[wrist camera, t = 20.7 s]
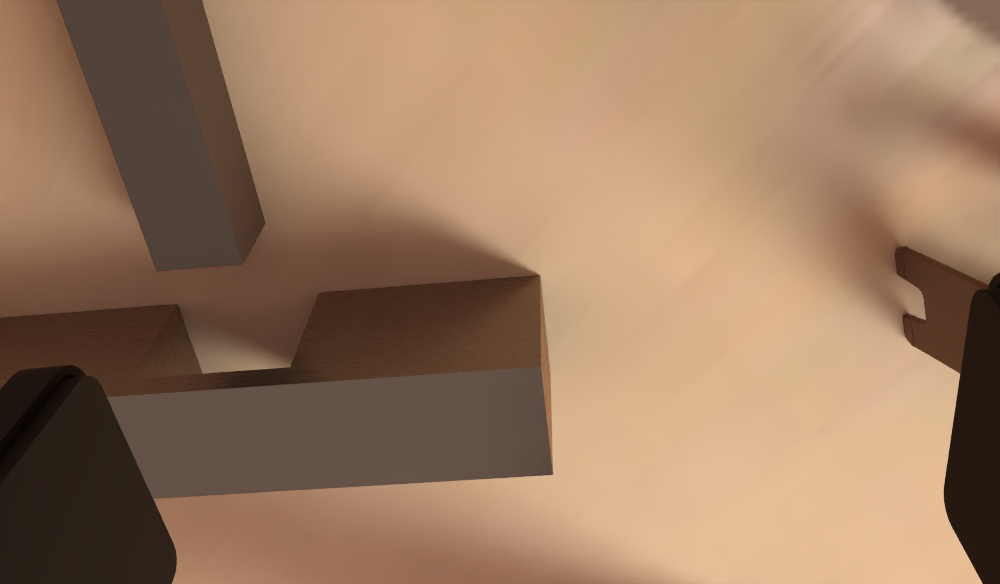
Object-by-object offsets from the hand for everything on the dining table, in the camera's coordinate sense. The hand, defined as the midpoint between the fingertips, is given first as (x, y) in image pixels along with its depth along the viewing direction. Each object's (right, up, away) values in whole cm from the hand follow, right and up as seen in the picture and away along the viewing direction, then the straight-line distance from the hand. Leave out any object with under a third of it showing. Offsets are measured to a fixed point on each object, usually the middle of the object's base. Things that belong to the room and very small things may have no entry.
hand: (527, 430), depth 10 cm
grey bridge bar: (-10, -1, +28) cm, 30 cm away
